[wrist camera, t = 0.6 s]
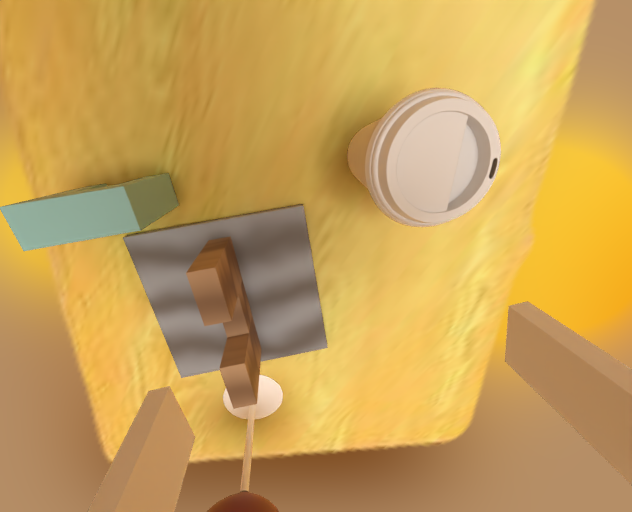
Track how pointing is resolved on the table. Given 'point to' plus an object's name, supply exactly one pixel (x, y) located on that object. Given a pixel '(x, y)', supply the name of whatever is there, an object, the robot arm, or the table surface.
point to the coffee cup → (427, 157)
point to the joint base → (233, 293)
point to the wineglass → (244, 506)
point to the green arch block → (90, 212)
